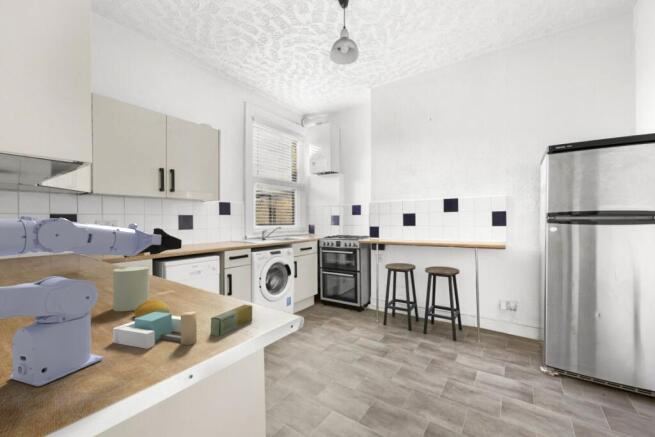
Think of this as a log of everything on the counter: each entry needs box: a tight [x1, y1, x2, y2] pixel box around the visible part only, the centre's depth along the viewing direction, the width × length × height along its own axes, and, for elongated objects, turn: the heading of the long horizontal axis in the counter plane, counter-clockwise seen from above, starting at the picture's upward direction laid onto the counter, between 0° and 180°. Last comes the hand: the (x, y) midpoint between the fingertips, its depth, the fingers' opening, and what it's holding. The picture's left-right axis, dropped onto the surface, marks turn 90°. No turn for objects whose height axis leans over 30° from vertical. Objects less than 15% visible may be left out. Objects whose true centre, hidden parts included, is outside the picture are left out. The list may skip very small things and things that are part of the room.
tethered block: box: [134, 310, 198, 346], centre depth 62 cm, size 5×14×6 cm, turn 71°
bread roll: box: [133, 299, 171, 318], centre depth 79 cm, size 8×9×4 cm
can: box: [112, 265, 150, 312], centre depth 87 cm, size 9×9×12 cm
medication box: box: [210, 304, 253, 337], centre depth 70 cm, size 12×3×4 cm, turn 157°
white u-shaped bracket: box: [112, 315, 181, 350], centre depth 64 cm, size 10×10×3 cm
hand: (169, 245), depth 69 cm, fingers open, 7 cm apart
